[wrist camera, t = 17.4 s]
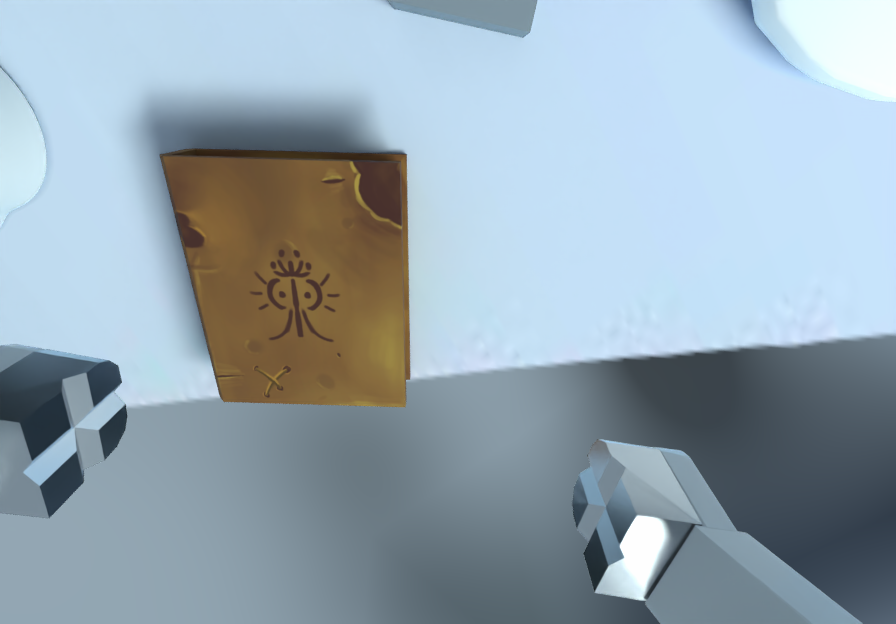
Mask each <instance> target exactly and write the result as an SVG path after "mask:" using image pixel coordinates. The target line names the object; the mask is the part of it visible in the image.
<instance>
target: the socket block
mask: <svg viewBox="0 0 896 624" xmlns="http://www.w3.org/2000/svg"><path fill="white" fill-rule="evenodd" d="M388 1H389V3H390V4H391V5H392V7H393V8H394V9H398V10H402V11H407V12H411V13H416V14H420V15H424V16H429V17H433V18H438V19H442V20H447V21H451V22H456V23H460V24H465V25H469V26H474V27H478V28H483V29H487V30H492V31H496V32H501V33H505V34H510V35H514V36H519V37H525V36H526V35H527V34H528V33H530V30H531V26H532V22H533V17H534V13H535V9H536V4H537V0H388Z"/></svg>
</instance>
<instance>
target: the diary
mask: <svg viewBox="0 0 896 624" xmlns="http://www.w3.org/2000/svg"><path fill="white" fill-rule="evenodd" d="M160 158H161V162H162V166H163V170H164V174H165V178H166V182H167V186H168V190H169V194H170V198H171V202H172V206H173V210H174V214H175V218H176V222H177V226H178V230H179V234H180V238H181V242H182V246H183V250H184V254H185V258H186V262H187V266H188V270H189V274H190V279H191V283H192V287H193V291H194V295H195V299H196V303H197V307H198V311H199V315H200V319H201V323H202V327H203V331H204V335H205V339H206V343H207V347H208V351H209V355H210V359H211V363H212V367H213V371H214V375H215V379H216V383H217V387H218V391H219V395H220V397H221V399H222V400H223V401H224V402H250V403H283V404H318V405H349V406H383V407H405V406H406V380H410V331H409V270H408V210H407V154H376V153H339V152H302V151H265V150H228V149H184V150H179V151H174V152H170V153H165V154H160Z"/></svg>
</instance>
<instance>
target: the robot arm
mask: <svg viewBox="0 0 896 624" xmlns="http://www.w3.org/2000/svg"><path fill="white" fill-rule="evenodd" d="M46 163H47V159H46V148H45V142H44V138H43V134H42V131H41V128H40V126H39V123H38V121H37V118H36V116H35V114H34V112H33V110H32V108H31V107H30V105H29V103H28V101H27V100H26V98H25V97H24V95H23V94H22V92H21V91H20V90H19V88H18V87H17V86H16V84H15V83H14V82H13V81H12V80H11V78H10V77H9V76H8V75H7V74H6V73H5V72H4V71H3V70H2V69H1V68H0V227H1V225H2V224H3V222H4V220H5V218H6V215H7V214H8V213H10V212H11V211H13V210H15V209H17V208H19V207H21V206H22V205H24V204H26V203H27V202H29V201H30V200H31V199H32V198H33V197H34V196H35V195H36V193H37V192H38V191H39V189H40V187H41V185H42V183H43V180H44V177H45V172H46ZM121 383H122V380H121V376H120V371H119V367H118V365H116V364H114V363H113V362H111V361H109V360H104V359H98V358H93V357H87V356H82V355H76V354H71V353H66V352H60V351H55V350H49V349H46V350H45V349H41V348H36V347H30V346H24V345H19V344H10V345H1V346H0V513H3V514H13V515H23V516H31V517H41V518H50V517H51V516H52V515H53V514H54V513H55V512H56V511H57V510H58V509H59V508H60V507H61V506H62V505H63V504H64V503H65V501H66V500H67V499H68V498H69V497H70V496H71V495H72V494H73V493H74V492H75V491H76V490H77V489H78V488H79V487H80V486H81V485H82V484H83V482H84V470H85V469H87V468H89V467H91V466H93V465H95V464H98V463H100V462H102V461H104V460H105V459H106V458H107V457H108V456H109V455H110V454H111V453H112V452H113V451H114V449H115V448H116V447H117V446H118V444H119V441H120V439H121V437H122V436H123V434H124V431H125V429H126V422H127V410H126V404H125V403H124V402H123V401H122V400H121V398H120V397H119V396H118V395H117V394H116V393H115V392H114V391H115V390H116V389H117V388H118V387H119V385H120V384H121ZM587 456H588V459H589V462H590V465H591V467H589V468H588V469H586V470H585V471H583V472H582V473H580V474H579V476H578V479H577V481H576V484H575V486H574V491H573V500H572V507H573V517H574V520H575V524H576V528H577V530H578V531H579V532H580V533H581V534H582V535H583V536H584V538H586V540H587V541H588V542H589V543H588V545H587V547H586V549H585V551H584V553H583V554H584V557H585V561H586V564H587V568H588V571H589V575H590V578H591V582H592V586H593V589H594V592H595V593H601V594H607V595H613V596H619V597H625V598H631V599H637V600H643V601H646V603H645V604H646V606H647V607H648V608H649V610H650V611H651V612H652V613H653V615H654V616H655V617H656V619H657V620H658V621H659V622H660V624H862V623H861V622H860V621H859V620H857V619H856V618H855V617H853V616H852V615H851V614H849V613H848V612H847V611H846V610H844V609H843V608H842V607H841V606H839V605H838V604H837V603H836V602H834V601H833V600H832V599H830V598H829V597H828V596H827V595H825V594H824V593H823V592H822V591H820V590H819V589H818V588H816V587H815V586H814V585H813V584H811V583H810V582H809V581H807V580H806V579H805V578H804V577H802V576H801V575H800V574H799V573H797V572H796V571H795V570H793V569H792V568H791V567H790V566H788V565H787V564H786V563H784V562H783V561H782V560H780V559H779V558H778V557H777V556H776V555H774V554H773V553H772V552H770V551H769V550H768V549H767V548H765V547H764V546H763V545H761V544H760V543H759V542H758V541H756V540H755V539H753V537H751V536H750V535H749V534H747V533H744V532H738V531H737V530H736V529H735V527H734V526H733V524H732V522H731V521H730V519H729V518H728V516H727V515H726V513H725V512H724V510H723V508H722V507H721V505H720V504H719V502H718V501H717V499H716V498H715V496H714V494H713V493H712V491H711V490H710V488H709V486H708V485H707V483H706V482H705V481H704V479H703V477H702V476H701V474H700V473H699V471H698V469H697V468H696V466H695V465H694V463H693V462H692V460H691V458H690V457H689V456H688V455H687V454H685V453H684V452H683V451H680V450H672V449H665V448H657V447H653V448H651V447H646V446H638V445H633V444H626V443H620V442H613V441H606V440H600V439H598V440H597V441H596V442H595V443H594V444H593V445H592V447H591V449H590V451H589V453H588V455H587Z"/></svg>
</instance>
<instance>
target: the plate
mask: <svg viewBox="0 0 896 624" xmlns="http://www.w3.org/2000/svg"><path fill="white" fill-rule="evenodd" d="M751 1H752V7H753V13H754V20H755V24H756V25H757V26H758V27H759V28H760V30H761V31H762V32H763V33H764V34H765V36H766V37H767V38H768V39H769V40H770V42H771V43H772V44H773V45H774V46H775V47H776V49H777V50H778V51H779V52H780V53H781V55H782V56H783V57H784V58H785V59H786V61H787V62H789V63H790V64H791V65H793V66H794V67H796V68H797V69H799V70H800V71H802V72H803V73H804V74H806V75H807V76H809V77H810V78H812V79H813V80H815V81H818V82H821V83H823V84H826V85H829V86H832V87H835V88H837V89H840V90H843V91H846V92H849V93H851V94H854V95H857V96H860V97H863V98H865V99H868V100H879V101H890V102H896V0H751Z"/></svg>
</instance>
